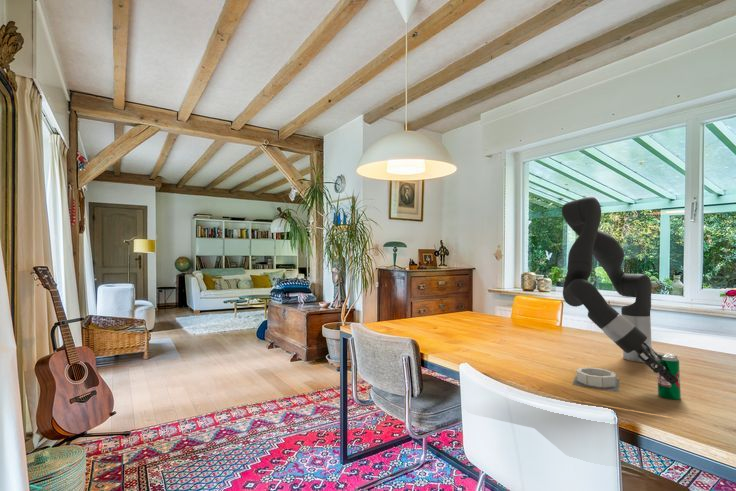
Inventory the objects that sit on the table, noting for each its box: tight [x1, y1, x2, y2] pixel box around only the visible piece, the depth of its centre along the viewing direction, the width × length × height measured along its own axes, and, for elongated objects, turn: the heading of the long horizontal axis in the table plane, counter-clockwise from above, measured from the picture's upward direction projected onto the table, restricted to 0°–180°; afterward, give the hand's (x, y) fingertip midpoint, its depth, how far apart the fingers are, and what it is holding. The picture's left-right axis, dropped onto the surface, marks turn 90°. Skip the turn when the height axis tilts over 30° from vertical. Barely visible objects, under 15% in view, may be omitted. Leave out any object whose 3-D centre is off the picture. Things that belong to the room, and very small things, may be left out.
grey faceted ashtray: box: [576, 366, 617, 388], centre depth 120 cm, size 10×10×3 cm
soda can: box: [656, 353, 682, 401], centre depth 107 cm, size 5×5×12 cm
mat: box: [572, 374, 620, 393], centre depth 120 cm, size 14×12×1 cm
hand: (674, 378), depth 106 cm, fingers open, 8 cm apart
